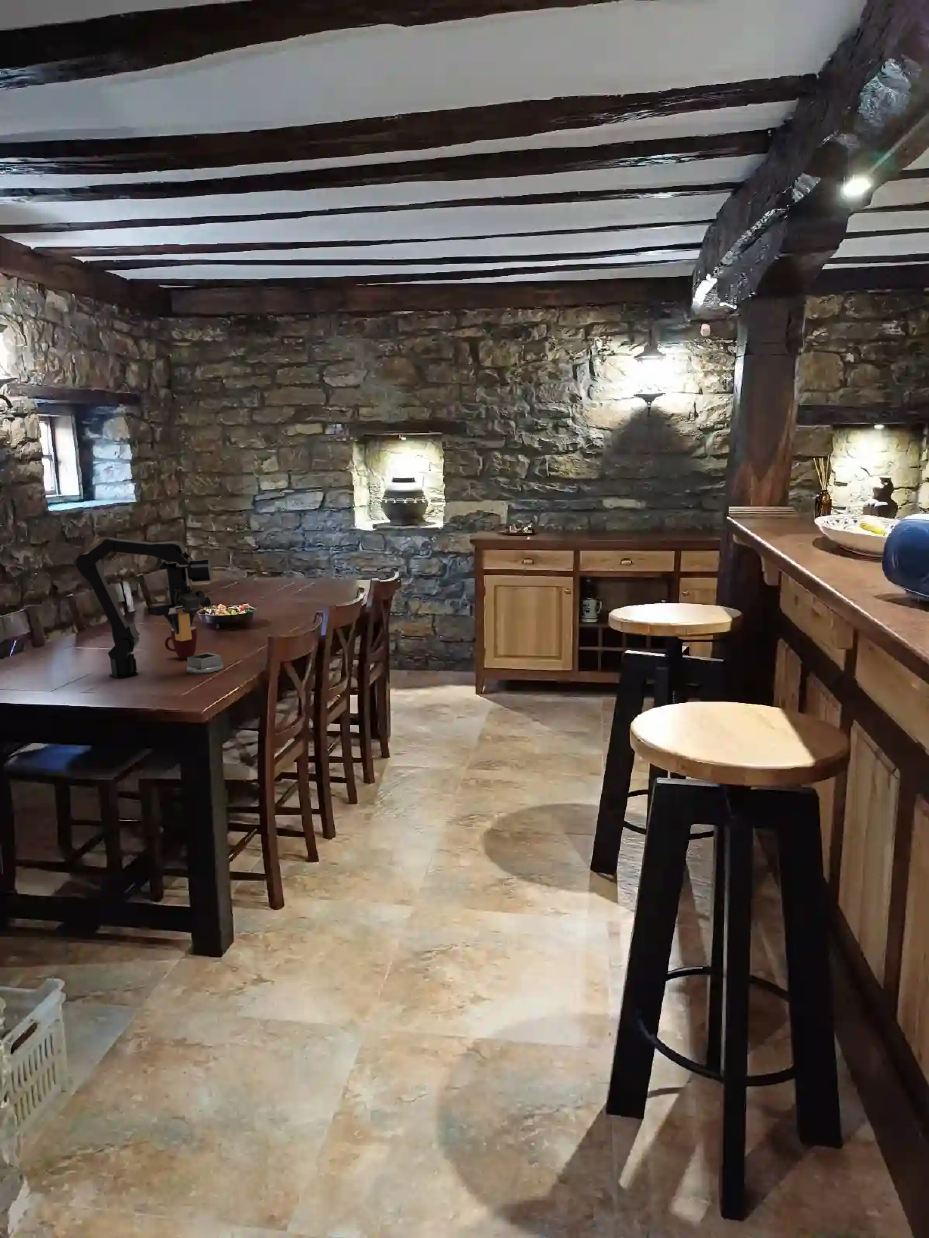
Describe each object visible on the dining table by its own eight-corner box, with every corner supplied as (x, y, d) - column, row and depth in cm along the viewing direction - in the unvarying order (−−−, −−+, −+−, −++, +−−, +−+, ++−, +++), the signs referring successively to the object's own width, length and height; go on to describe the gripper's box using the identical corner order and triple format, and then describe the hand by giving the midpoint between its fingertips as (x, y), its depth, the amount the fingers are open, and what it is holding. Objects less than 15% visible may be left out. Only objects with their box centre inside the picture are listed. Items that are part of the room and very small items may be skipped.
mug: (163, 662, 289) (160, 632, 287) (168, 656, 297) (165, 627, 295) (197, 660, 290) (194, 630, 288) (200, 654, 298) (197, 625, 296)
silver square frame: (200, 675, 271) (199, 662, 270) (180, 670, 278) (178, 657, 277) (230, 668, 279) (229, 655, 278) (210, 663, 286) (209, 650, 285)
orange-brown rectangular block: (181, 641, 271) (179, 615, 270) (175, 639, 274) (172, 614, 272) (191, 638, 274) (189, 613, 272) (185, 637, 276) (182, 612, 275)
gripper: (164, 589, 258) (170, 642, 261) (219, 580, 272) (224, 630, 275) (144, 587, 265) (150, 637, 269) (198, 577, 279) (203, 626, 282)
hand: (183, 632), depth 273 cm, fingers closed on orange-brown rectangular block, 3 cm apart
